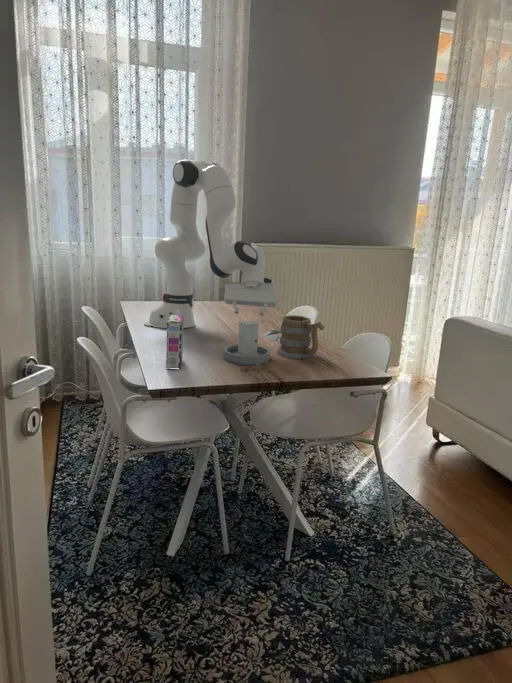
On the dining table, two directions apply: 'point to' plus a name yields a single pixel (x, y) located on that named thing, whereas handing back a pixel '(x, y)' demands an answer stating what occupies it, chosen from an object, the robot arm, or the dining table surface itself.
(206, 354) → the dining table surface
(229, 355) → the round tray
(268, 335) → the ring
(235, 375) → the dining table surface
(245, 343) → the grey upright block
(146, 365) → the dining table surface
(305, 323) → the tankard
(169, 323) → the candy bar box
